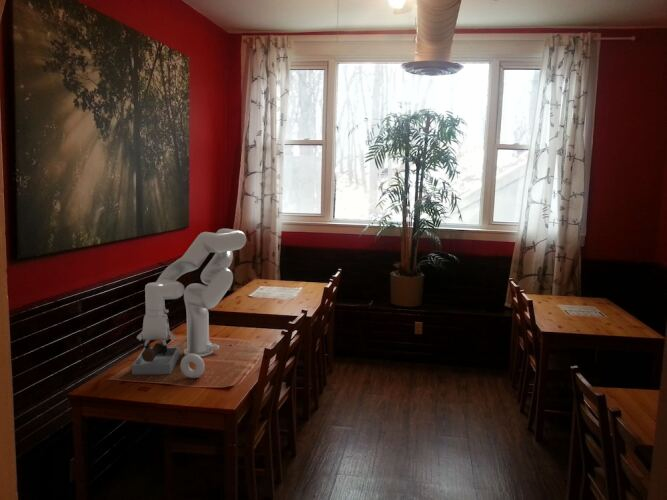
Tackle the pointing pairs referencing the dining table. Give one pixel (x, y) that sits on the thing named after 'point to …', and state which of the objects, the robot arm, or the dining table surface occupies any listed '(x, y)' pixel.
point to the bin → (157, 363)
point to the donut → (187, 370)
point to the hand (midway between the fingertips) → (156, 353)
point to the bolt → (152, 352)
